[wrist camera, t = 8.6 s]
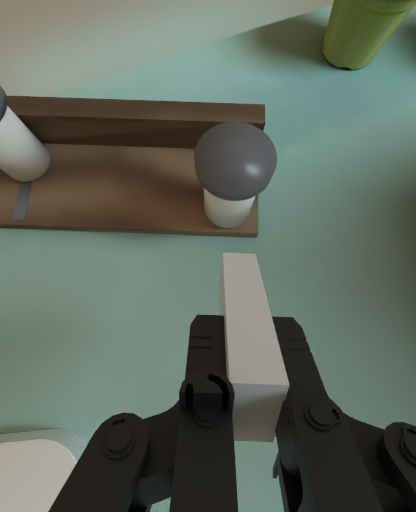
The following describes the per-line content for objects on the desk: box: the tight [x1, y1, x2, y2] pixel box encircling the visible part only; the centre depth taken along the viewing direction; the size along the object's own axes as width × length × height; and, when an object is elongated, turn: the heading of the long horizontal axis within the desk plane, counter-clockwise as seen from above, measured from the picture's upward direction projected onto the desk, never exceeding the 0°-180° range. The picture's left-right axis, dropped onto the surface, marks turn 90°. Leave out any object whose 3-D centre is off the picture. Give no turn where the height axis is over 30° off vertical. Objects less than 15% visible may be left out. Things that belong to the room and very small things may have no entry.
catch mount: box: [0, 96, 265, 237], centre depth 26 cm, size 11×26×5 cm, turn 88°
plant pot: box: [322, 0, 416, 70], centre depth 29 cm, size 9×9×9 cm
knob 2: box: [194, 122, 277, 228], centre depth 23 cm, size 6×6×8 cm
